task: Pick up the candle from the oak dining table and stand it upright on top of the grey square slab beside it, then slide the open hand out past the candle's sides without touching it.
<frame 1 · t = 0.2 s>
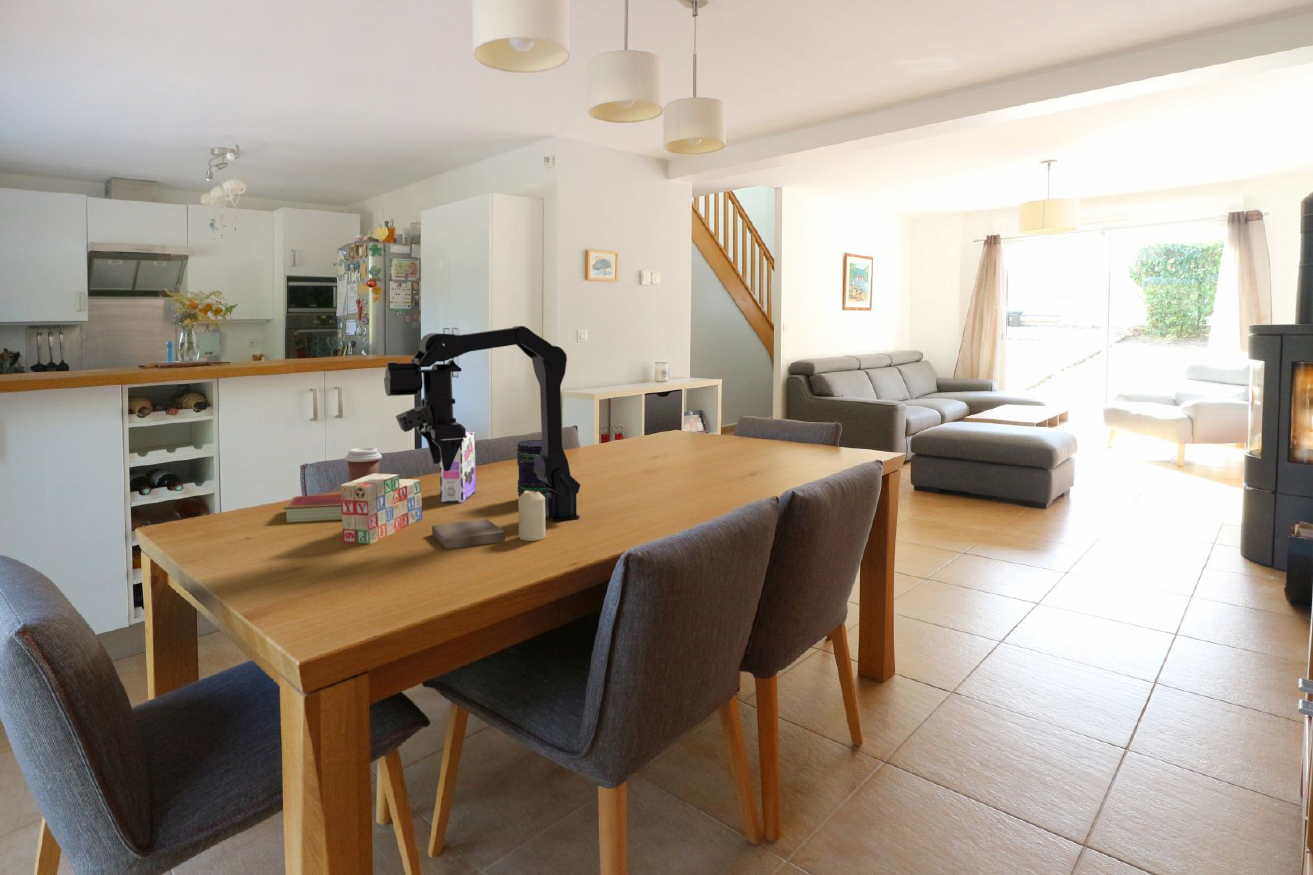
hand: (441, 467, 160), 14 cm above the table, fingers open, 9 cm apart
grey square slab: (467, 538, 158), on the table
storage jar: (537, 501, 192), on the table
candle: (532, 538, 159), on the table
hardcover book: (338, 516, 178), on the table
candy box: (459, 497, 196), on the table
stack of blocks: (385, 531, 164), on the table
coffee cup: (365, 495, 198), on the table
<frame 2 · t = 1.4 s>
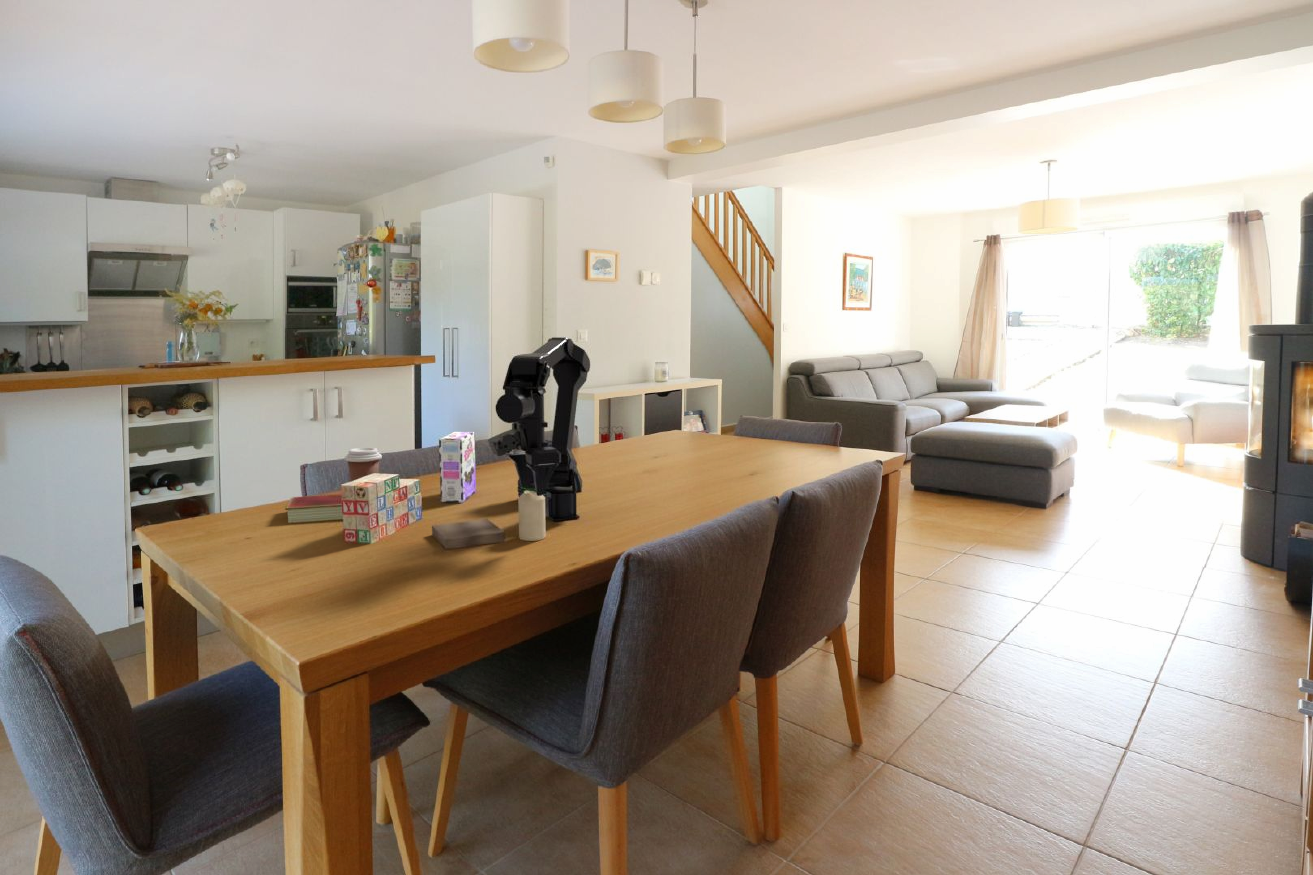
hand: (531, 491, 157), 10 cm above the table, fingers open, 9 cm apart
nothing on the table moved.
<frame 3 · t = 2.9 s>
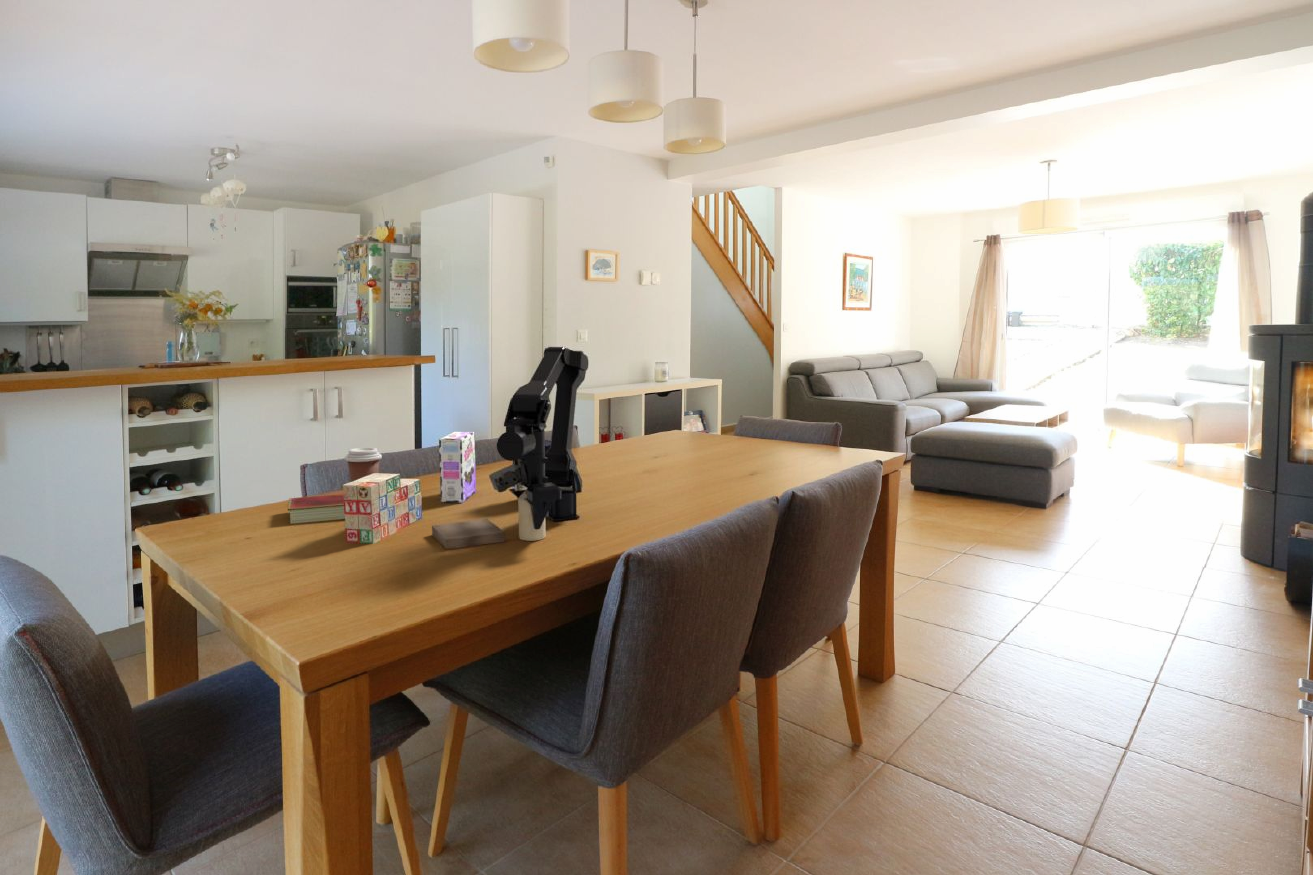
hand: (532, 525, 158), 3 cm above the table, fingers closed on candle, 6 cm apart
candle: (532, 538, 159), on the table, touching gripper
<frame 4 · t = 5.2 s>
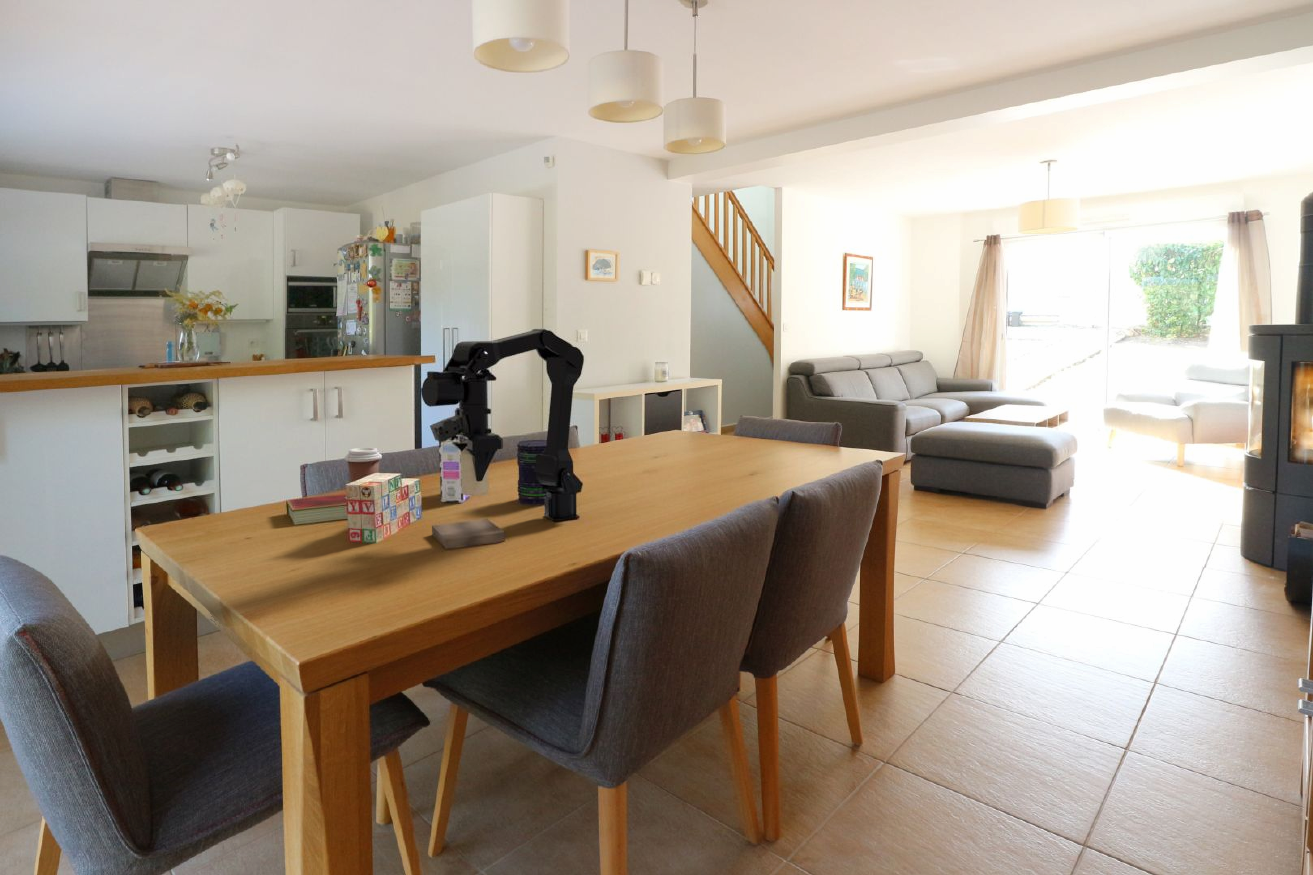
hand: (474, 478, 156), 13 cm above the table, fingers closed on candle, 5 cm apart
candle: (475, 494, 157), point 9 cm above the table, touching gripper
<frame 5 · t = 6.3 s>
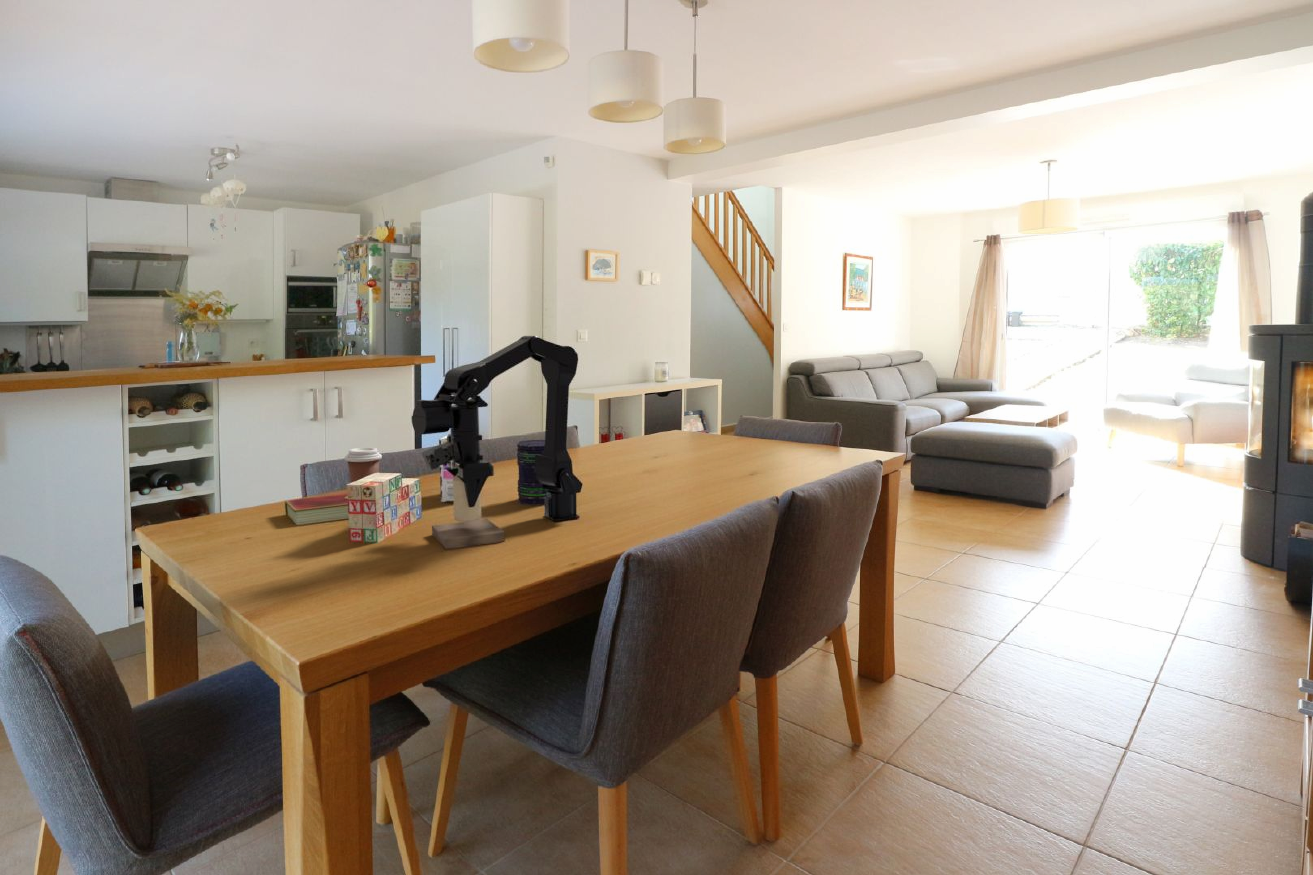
hand: (467, 504, 157), 7 cm above the table, fingers closed on candle, 5 cm apart
candle: (467, 519, 158), point 4 cm above the table, touching gripper
when the fingers open (6 cm above the table, at t = 7.4 s): candle stays where it is, resting on grey square slab.
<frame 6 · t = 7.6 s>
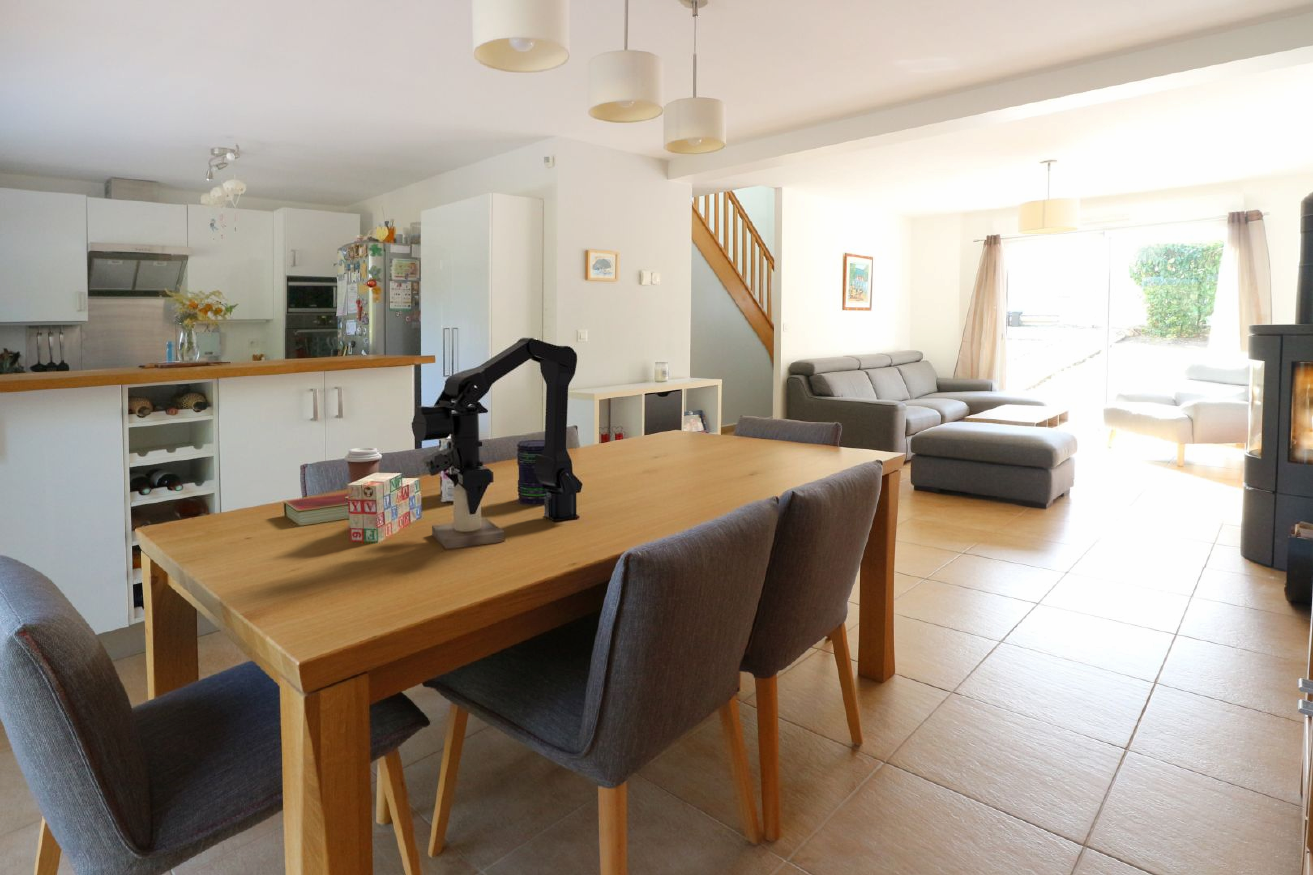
hand: (467, 510, 157), 6 cm above the table, fingers open, 7 cm apart
candle: (468, 529, 158), point 2 cm above the table, touching grey square slab
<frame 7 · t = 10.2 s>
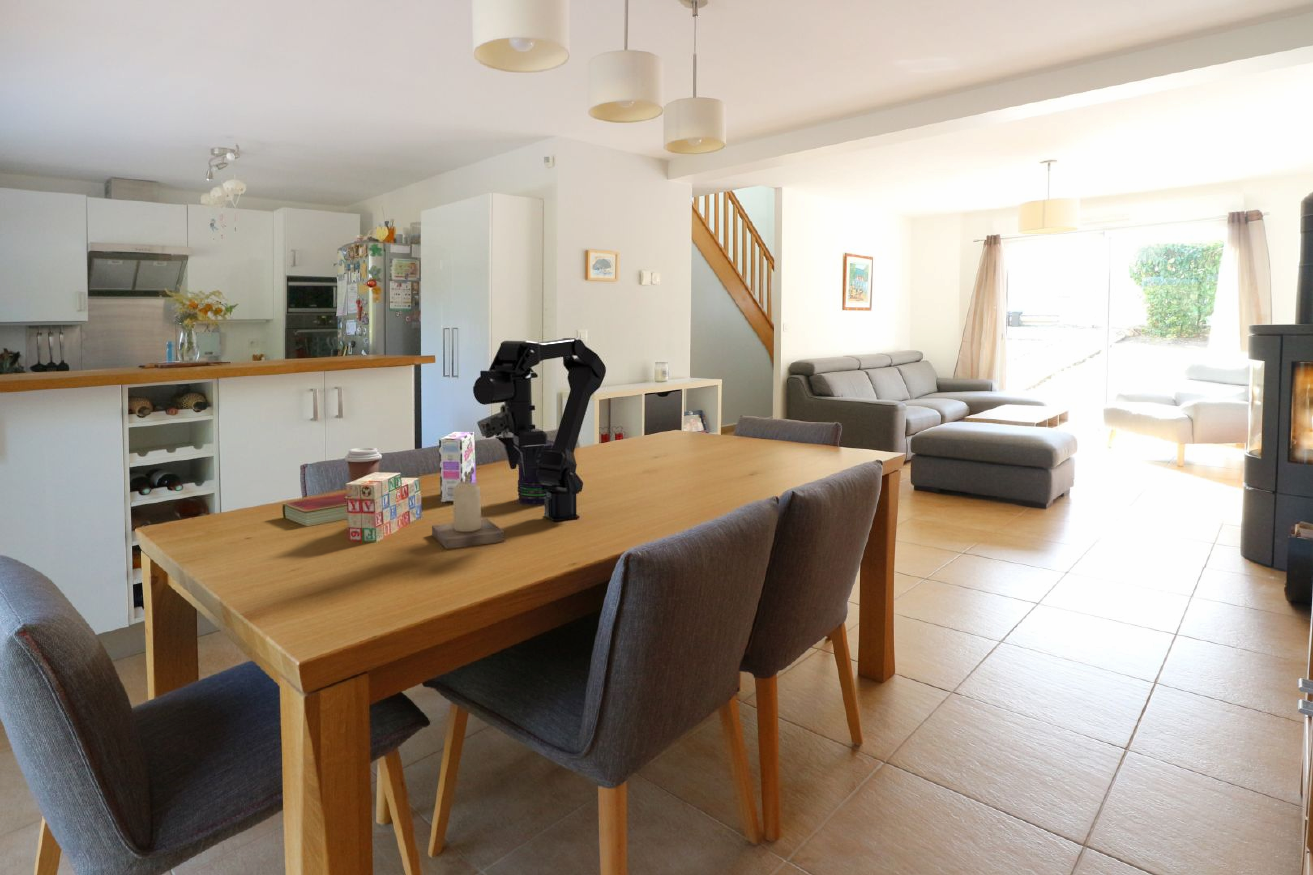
hand: (519, 472, 162), 13 cm above the table, fingers open, 9 cm apart
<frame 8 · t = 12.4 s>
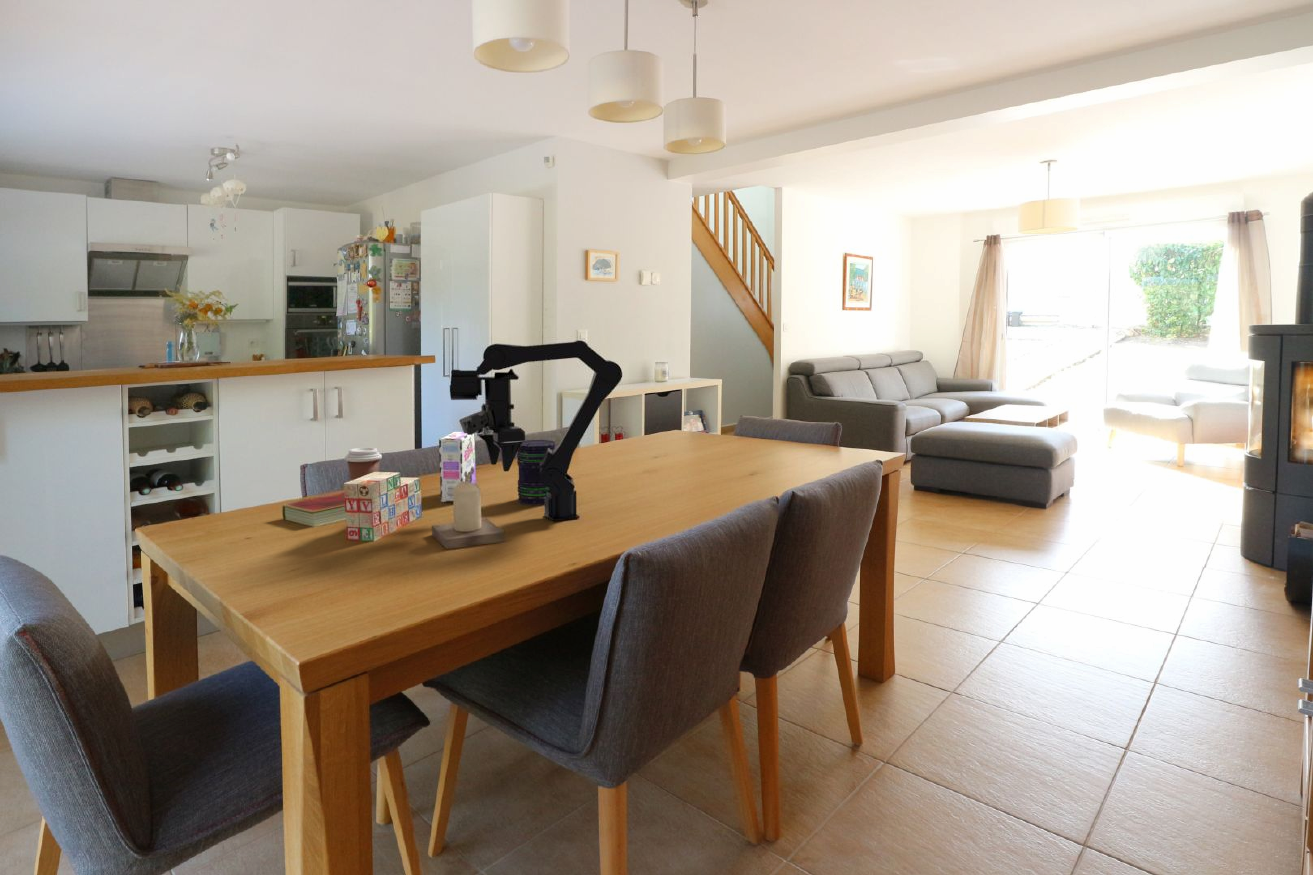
hand: (499, 467, 172), 12 cm above the table, fingers open, 9 cm apart
at the end: candle inside the target area on the grey square slab (0.1 cm from its centre), point 1.8 cm above the grey square slab's base; candle tilted 0°; the gripper is holding nothing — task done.
